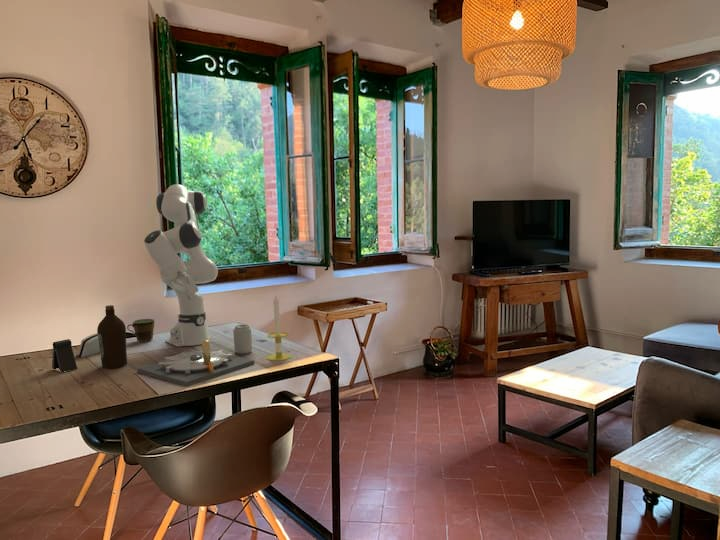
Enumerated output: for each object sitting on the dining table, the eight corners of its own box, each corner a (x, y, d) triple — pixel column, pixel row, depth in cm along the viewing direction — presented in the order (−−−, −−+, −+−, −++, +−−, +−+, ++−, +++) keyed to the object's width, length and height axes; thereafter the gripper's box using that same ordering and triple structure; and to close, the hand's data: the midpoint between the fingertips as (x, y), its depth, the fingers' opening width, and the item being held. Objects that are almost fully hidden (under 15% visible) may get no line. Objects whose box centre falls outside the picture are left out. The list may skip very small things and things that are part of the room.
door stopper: (77, 369, 222) (74, 340, 221) (62, 373, 217) (59, 343, 216) (67, 366, 227) (64, 337, 226) (51, 369, 223) (49, 340, 221)
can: (254, 350, 243) (252, 323, 242) (249, 354, 236) (247, 327, 235) (237, 350, 244) (236, 323, 243) (232, 354, 237) (230, 327, 235)
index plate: (137, 372, 215) (136, 358, 215) (204, 353, 241) (203, 341, 240) (186, 386, 196) (185, 371, 195) (254, 363, 221) (253, 350, 221)
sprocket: (151, 376, 203) (149, 347, 202) (170, 356, 231) (168, 330, 229) (225, 371, 206) (223, 343, 204) (235, 352, 233) (233, 327, 232)
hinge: (105, 347, 258) (109, 327, 255) (113, 351, 256) (116, 331, 254) (74, 356, 243) (78, 336, 240) (82, 360, 241) (86, 340, 238)
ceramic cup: (150, 337, 275) (149, 317, 274) (159, 340, 268) (157, 320, 267) (124, 342, 266) (122, 322, 265) (132, 345, 259) (131, 325, 258)
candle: (294, 354, 233) (291, 292, 230) (285, 361, 224) (282, 296, 220) (273, 353, 236) (269, 292, 233) (263, 360, 226) (259, 295, 223)
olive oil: (128, 360, 233) (123, 302, 230) (129, 367, 223) (124, 306, 220) (100, 364, 228) (95, 305, 225) (100, 371, 219) (94, 309, 216)
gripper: (191, 269, 204) (209, 298, 210) (172, 262, 220) (189, 290, 226) (176, 278, 201) (195, 308, 207) (158, 271, 217) (177, 299, 223)
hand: (192, 298), depth 217 cm, fingers closed
